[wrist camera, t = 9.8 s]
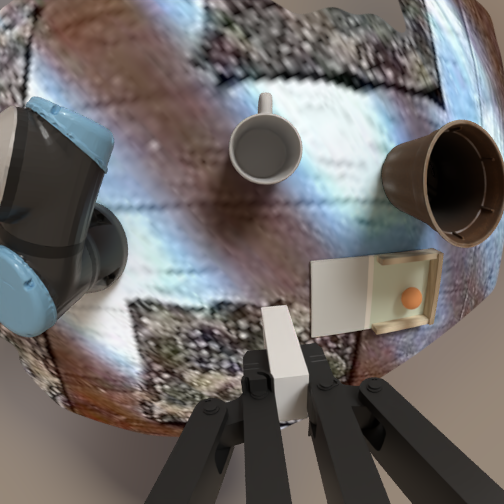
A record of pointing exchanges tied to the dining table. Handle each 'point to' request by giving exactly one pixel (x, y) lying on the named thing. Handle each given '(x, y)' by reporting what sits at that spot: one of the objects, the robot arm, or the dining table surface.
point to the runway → (361, 292)
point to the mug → (265, 146)
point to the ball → (411, 298)
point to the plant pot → (449, 182)
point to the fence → (431, 290)
